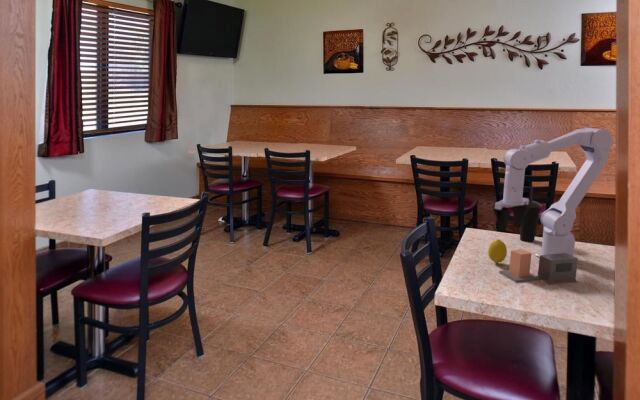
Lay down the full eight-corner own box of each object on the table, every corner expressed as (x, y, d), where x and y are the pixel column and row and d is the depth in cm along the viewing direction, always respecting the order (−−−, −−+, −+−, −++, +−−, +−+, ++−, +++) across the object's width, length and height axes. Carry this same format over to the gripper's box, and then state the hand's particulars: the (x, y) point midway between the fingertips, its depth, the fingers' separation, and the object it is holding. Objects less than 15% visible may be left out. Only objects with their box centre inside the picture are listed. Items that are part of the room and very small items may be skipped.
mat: (522, 270, 157) (522, 268, 157) (539, 279, 150) (539, 277, 150) (499, 272, 155) (499, 270, 155) (515, 282, 148) (515, 280, 148)
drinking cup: (512, 237, 192) (517, 184, 188) (531, 236, 193) (537, 184, 188) (521, 243, 185) (527, 189, 180) (542, 243, 185) (547, 188, 181)
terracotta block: (519, 271, 155) (521, 249, 153) (529, 275, 151) (531, 253, 150) (509, 272, 153) (511, 250, 152) (518, 277, 150) (520, 254, 148)
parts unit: (562, 274, 154) (565, 252, 152) (576, 281, 149) (579, 258, 147) (536, 277, 152) (538, 254, 150) (549, 284, 146) (551, 261, 145)
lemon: (506, 267, 160) (509, 242, 158) (488, 265, 161) (490, 241, 159) (504, 261, 165) (506, 237, 164) (486, 260, 166) (488, 236, 165)
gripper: (509, 191, 155) (505, 234, 158) (538, 187, 163) (534, 228, 166) (490, 187, 161) (487, 229, 164) (519, 183, 169) (515, 223, 172)
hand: (509, 228), depth 165 cm, fingers open, 7 cm apart
